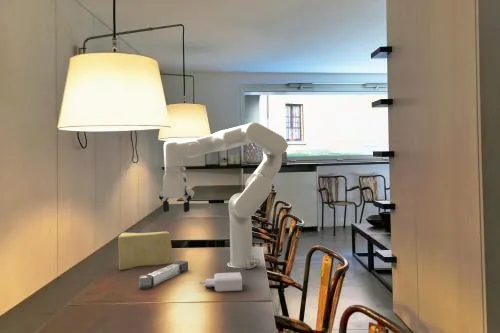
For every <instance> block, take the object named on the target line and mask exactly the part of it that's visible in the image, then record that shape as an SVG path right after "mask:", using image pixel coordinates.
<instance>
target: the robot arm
mask: <svg viewBox="0 0 500 333" xmlns="http://www.w3.org/2000/svg"><path fill="white" fill-rule="evenodd" d="M249 144H255V145H256V146H258V147H259V148H261V149H262V152H263V158H262V160H261V162H260V163H259V165H258V166H257V168H256V169H255V170H254V171H253V172H252V173H251V175H250V176H249V177H248V178H247V180H246V182H245V186H244V187H245V188H244V190H243V191H242V192H238V193H235V194H233V195H231V197H230V199H229V200H228V216H229V250H230V251H229V254H230V255H229V258H230V261H229V262H227V263H226V266H228V267H231V268H235V269H237V268H240V269H241V268H242V269H243V268H244V269H245V268H246V270H250V269H254V268H256V266H257V265H261V263H262V260H261V258H256V257H255V255H254V254H253V222H252V216H253V215H254V214H255V213H256V212H257V211H258V210H259V208H260V207H261V206H262V205H263V203H264V202H265V201H266V200H267V198H268V197H269V196H270V194H271V191H272V189H273V183H272V182H273V180H274V179H275V177H276V176H277V174H278V173H279V171H280V170H281V167H282V163H283V156H282V154H284V153H285V152H286V150H287V148H288V143H287V140H286V139H285V138H284V136H282V135H280V134H278V133H277V132H275V131H273V130H271V129H269V127H266V126H264V125H262V124H260V123H259V122H255V121H254V122H252V121H251V122H249V123H246V124H242V125H238V126H234V127H231V128H227V129H222V130H219V131H216V132H213V133H212V134H208V135H205V136H203V137H197V138H194V139H187V140H182V141H180V140H168V141H167V140H166V141H165V142H164V144H163V156H164V157H163V158H164V173H165V174H163V180H162V188H161V189H160V190H158V191H156V194H157V196H158V198H159V200H160V201H161V203H162V210H163V212H164V213H167V212H169V211H170V204H169V199H182V200H183V213H189V212H190V207H191V206H190V202H191V200H192V199H193V197H194V196H195V191H194V190H193V189H191V188H189V183H188V178H187V174H186V173H184V171H187V168H186V167H184V159H183V158H191V159H193V158H194V159H195V158H197V157H198V156H202V155H206V154H210V153H214V152H215V153H216V152H222V151H228V150H230V149H233V148H234V149H235V148H238V147H242V146H246V145H249Z"/></svg>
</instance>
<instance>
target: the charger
mask: <svg viewBox="0 0 500 333" xmlns="http://www.w3.org/2000/svg"><path fill="white" fill-rule="evenodd" d="M199 285H205V288H212V287H214V291H215V292H217V293H219V292H221V293H222V292H238V291H240V292H241V291H243V277H242V274H241V272H240V271H236V272H219V273H218V272H217V273H215V274H213V278H205V280H204V281H203V280H202V281H199Z"/></svg>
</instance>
